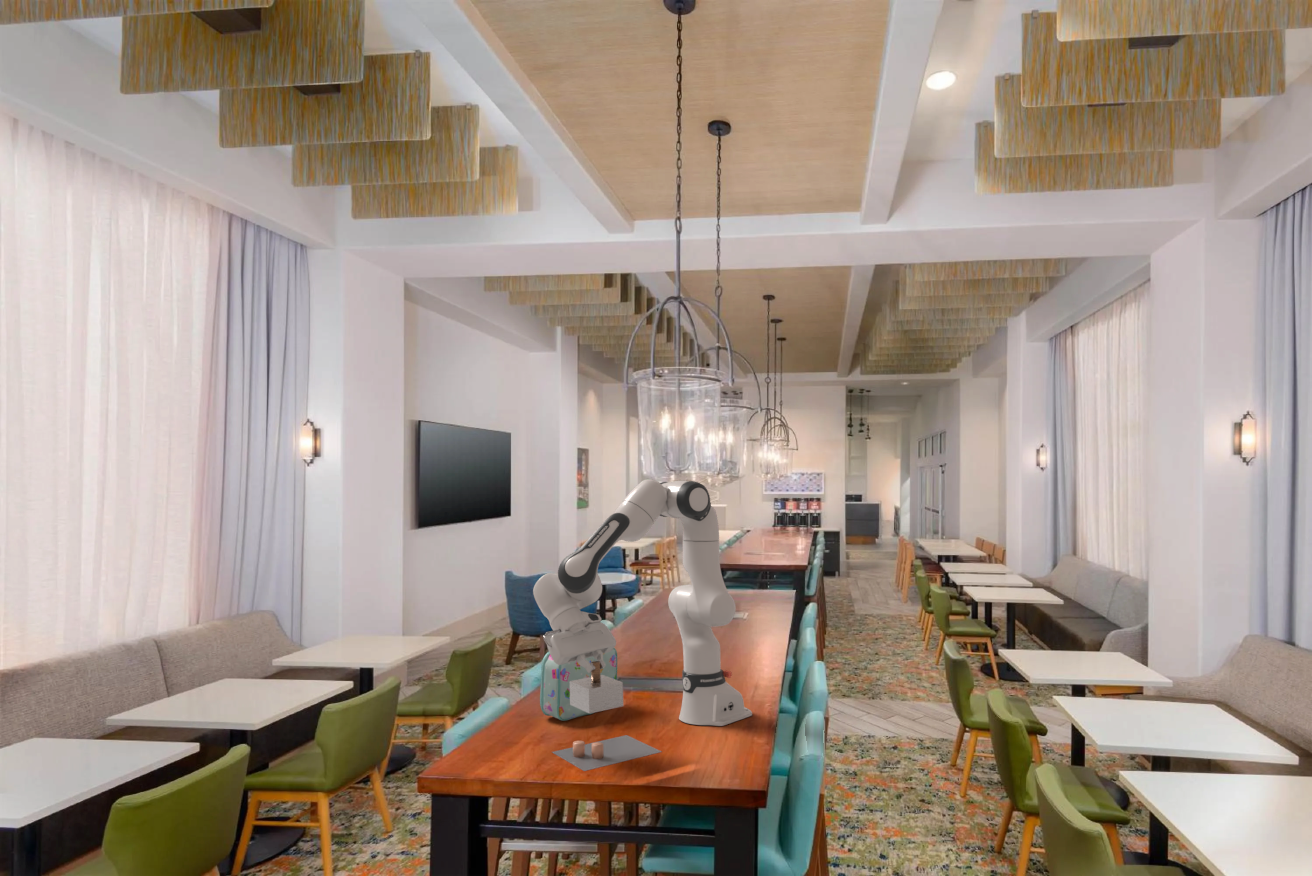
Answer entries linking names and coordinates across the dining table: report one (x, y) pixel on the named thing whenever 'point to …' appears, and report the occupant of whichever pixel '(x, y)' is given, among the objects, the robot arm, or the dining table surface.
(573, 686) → the steel cover
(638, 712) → the dining table surface
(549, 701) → the lunch box
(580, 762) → the tray
